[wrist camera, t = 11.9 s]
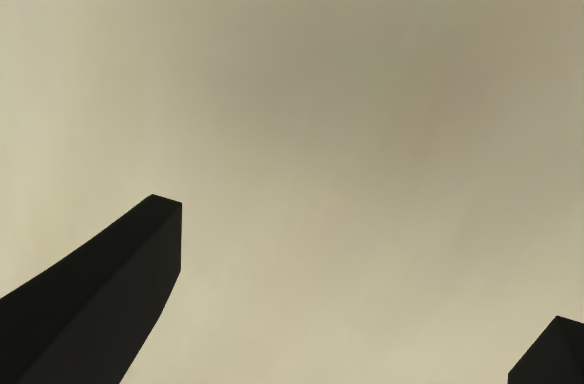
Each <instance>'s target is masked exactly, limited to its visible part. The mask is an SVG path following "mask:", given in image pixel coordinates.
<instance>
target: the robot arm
mask: <svg viewBox="0 0 584 384" xmlns="http://www.w3.org/2000/svg"><path fill="white" fill-rule="evenodd" d="M181 231H182V203H181V202H177V201H174V200H171V199H167V198H164V197H161V196H157V195H154V194H152V195H150V196H148V197H146V198H145V199H144V200H143V201H141V202H140V203H139V204H137V205H136V206H135V207H133V208H132V209H131V210H129V211H128V212H127V213H125V214H124V215H123V216H122V217H120V218H119V219H118V220H116V221H115V222H114V223H112V224H111V225H109V226H108V227H107V228H105V229H104V230H103V231H101V232H100V233H99V234H97V235H96V236H94V237H93V238H92V239H90V240H89V241H87V242H86V243H85V244H83V245H82V246H80V247H79V248H77V249H76V250H75V251H73V252H72V253H70V254H69V255H67V256H66V257H64V258H63V259H62V260H60V261H59V262H57V263H56V264H54V265H53V266H51V267H50V268H48V269H47V270H45V271H44V272H42V273H40V274H39V275H37V276H36V277H34V278H33V279H31V280H29V281H28V282H26V283H25V284H23V285H21V286H20V287H18V288H17V289H15V290H14V291H12V292H10V293H9V294H7V295H6V296H4V297H2V298H1V299H0V384H119V383H120V382H121V380H122V378H123V377H124V375H125V373H126V372H127V370H128V368H129V367H130V365H131V364H132V362H133V360H134V359H135V357H136V355H137V354H138V352H139V350H140V349H141V347H142V345H143V344H144V342H145V340H146V339H147V337H148V335H149V334H150V332H151V330H152V329H153V327H154V325H155V324H156V322H157V320H158V319H159V317H160V315H161V313H162V311H163V309H164V307H165V304H166V302H167V300H168V298H169V296H170V294H171V291H172V289H173V287H174V285H175V282H176V280H177V278H178V276H179V273H180V271H181ZM508 384H584V323H580V322H577V321H574V320H570V319H567V318H564V317H560V316H556V317H555V318H554V319H553V320H552V322H551V323H550V324H549V325H548V326H547V328H546V329H545V330H544V331H543V332H542V334H541V335H540V336H539V337H538V338H537V340H536V341H535V342H534V343H533V344H532V346H531V347H530V348H529V349H528V350H527V352H526V353H525V354H524V355H523V356H522V358H521V359H520V360H519V361H518V362H517V364H516V365H515V366H514V367H513V368H512V370H511V371H510V372H509V373H508Z"/></svg>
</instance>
